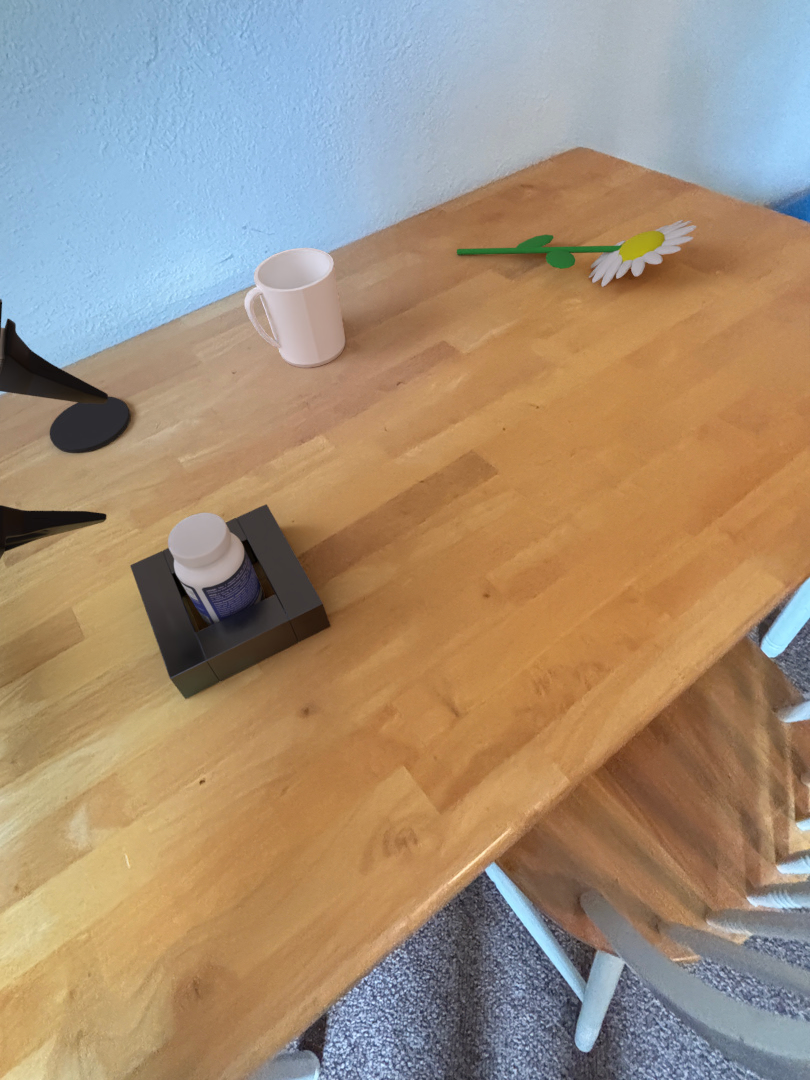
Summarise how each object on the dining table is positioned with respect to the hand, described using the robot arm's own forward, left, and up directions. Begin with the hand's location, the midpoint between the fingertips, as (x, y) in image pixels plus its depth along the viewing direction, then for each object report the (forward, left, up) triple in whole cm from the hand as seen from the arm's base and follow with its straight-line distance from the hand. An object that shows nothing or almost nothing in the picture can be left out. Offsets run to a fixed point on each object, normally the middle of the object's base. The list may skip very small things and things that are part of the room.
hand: (106, 457), depth 52 cm
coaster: (-3, +28, -16) cm, 33 cm away
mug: (+23, +26, -17) cm, 39 cm away
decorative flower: (+58, +22, -17) cm, 65 cm away
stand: (+3, -5, -16) cm, 17 cm away
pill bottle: (+3, -5, -17) cm, 18 cm away
